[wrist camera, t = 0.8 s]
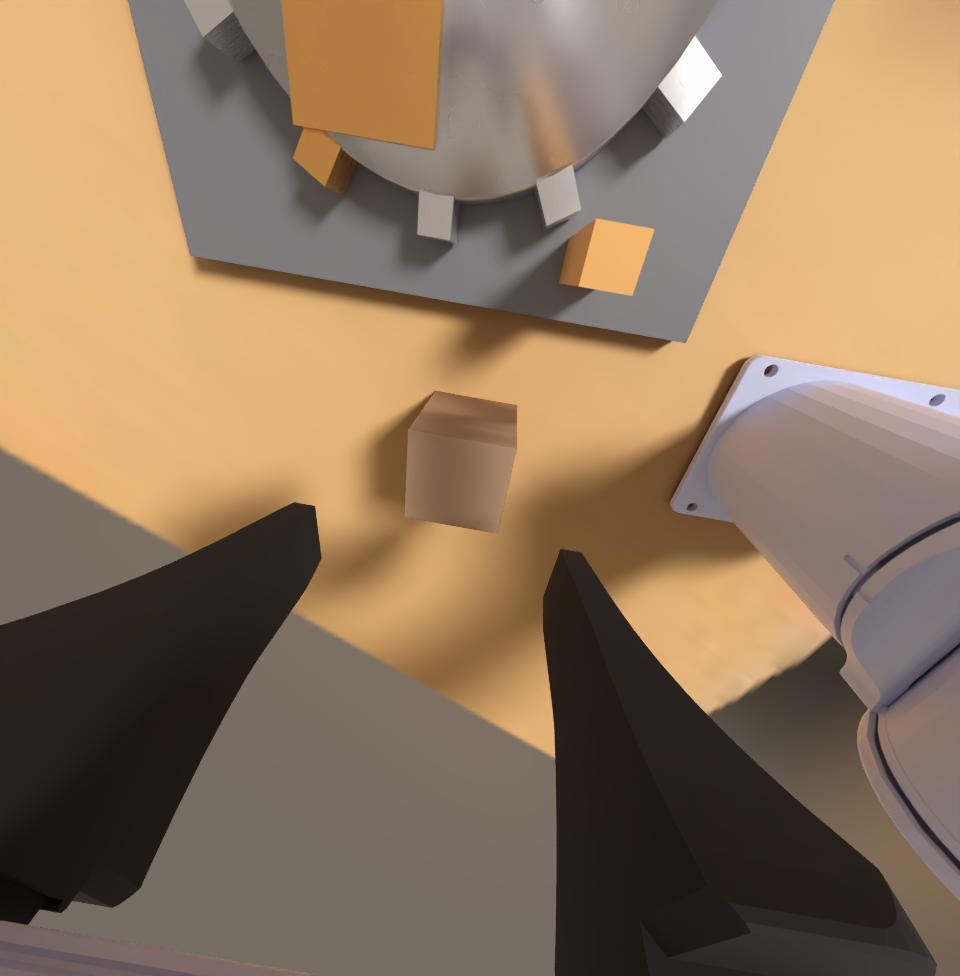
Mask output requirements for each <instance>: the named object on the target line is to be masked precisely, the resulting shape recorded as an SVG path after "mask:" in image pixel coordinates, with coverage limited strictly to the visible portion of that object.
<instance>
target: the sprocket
mask: <svg viewBox="0 0 960 976" xmlns="http://www.w3.org/2000/svg"><path fill="white" fill-rule="evenodd" d="M716 1H717V0H184V2H185V3H186V5H187V7H188V9H189V11H190V13H191V15H192V17H193V19H194V21H195V23H196V25H197V27H198V29H199V30H200V32H201V34H202V36H203V38H205V39H206V40H207V41H209V42H210V43H211V44H213V45H214V46H215V47H217V48H218V49H219V50H220V51H222V52H223V53H224V54H226V55H227V56H228V57H230V58H231V59H232V60H234V61H235V62H236V63H239V62H240V61H242V60H243V59H244V58H245V57H247V56H248V55H249V54H250V53H252V52H253V51H254V50H255V49H256V51H257V52H258V54H259V55H260V57H261V58H262V60H263V62H264V63H265V65H266V66H267V68H268V69H269V71H270V72H271V74H272V75H273V76H274V77H275V79H276V80H277V81H278V83H279V84H280V85H281V86H282V88H283V89H284V90H285V92H286V93H287V94H288V95H289V97H290V98H291V108H292V118H293V125H294V126H297V127H303V131H302V134H301V137H300V140H299V142H298V145H297V148H296V151H295V154H294V157H293V159H294V160H295V161H296V162H297V163H299V164H300V165H301V166H302V167H303V168H304V169H305V170H306V171H308V172H309V173H310V174H311V175H312V176H313V177H314V178H315V179H317V180H318V181H319V182H320V183H321V184H322V185H323V186H324V187H326V188H328V189H331V190H333V191H335V192H337V193H339V194H341V195H344V193H345V191H346V189H347V186H348V184H349V182H350V179H351V177H352V175H353V172H354V170H355V168H356V165H357V163H358V162H359V163H360V164H362V165H363V166H365V167H366V168H367V169H369V170H370V171H372V172H374V173H375V174H377V175H378V176H380V177H382V178H383V179H385V180H386V181H388V182H390V183H391V184H393V185H395V186H397V187H399V188H402V189H404V190H406V191H408V192H411V193H413V194H415V195H418V196H419V206H418V229H417V235H420V236H422V237H424V238H427V239H433V240H438V241H444V242H450V243H455V244H456V243H457V232H458V221H459V211H460V204H464V205H479V204H492V203H499V202H503V201H508V200H512V199H516V198H520V197H524V196H526V195H529V194H531V193H533V192H534V193H535V197H536V202H537V206H538V210H539V214H540V218H541V222H542V226H543V230H547V229H549V228H551V227H553V226H555V225H557V224H559V223H561V222H563V221H566V220H568V219H570V218H572V217H574V216H575V215H576V214H577V213H578V212H579V211H580V210H581V205H580V200H579V195H578V190H577V185H576V180H575V175H574V171H575V170H577V169H578V168H580V167H581V166H582V165H583V164H585V163H586V162H587V161H588V160H590V159H591V158H592V157H593V156H595V155H596V154H597V153H599V152H600V151H601V150H602V149H604V148H605V147H606V146H607V145H608V144H609V143H610V142H611V141H612V140H613V139H614V138H615V137H616V136H617V135H618V134H619V133H620V132H621V131H622V130H623V129H624V128H625V127H626V126H627V125H628V124H629V123H630V122H631V121H632V120H633V118H634V117H635V116H636V115H637V113H638V112H639V111H640V110H641V109H643V110H644V111H645V113H646V114H647V115H648V116H649V118H650V119H651V120H652V122H653V123H654V124H655V126H656V127H657V128H658V130H659V131H660V132H661V133H662V135H663V136H664V137H665V139H667V138H668V137H669V136H670V135H671V134H672V133H673V132H675V131H676V130H677V129H678V128H679V127H680V126H681V125H682V124H683V123H684V122H685V121H686V120H687V119H688V117H689V116H690V115H691V114H692V112H693V111H694V110H695V108H696V107H697V106H698V105H699V103H700V102H701V101H702V100H703V98H704V97H705V96H706V95H707V93H708V92H709V91H710V90H711V88H712V87H713V86H714V85H715V83H716V82H717V81H718V80H719V78H720V77H721V76H722V75H721V73H720V72H719V70H718V69H717V67H716V66H715V64H714V63H713V62H712V60H711V59H710V57H709V56H708V54H707V53H706V51H705V50H704V48H703V47H702V45H701V44H700V42H699V41H698V39H697V38H696V36H695V35H696V34H697V32H698V31H699V29H700V28H701V26H702V25H703V23H704V22H705V20H706V19H707V17H708V15H709V14H710V12H711V10H712V8H713V6H714V5H715V3H716Z"/></svg>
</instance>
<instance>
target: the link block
mask: <svg viewBox="0 0 960 976" xmlns="http://www.w3.org/2000/svg"><path fill="white" fill-rule="evenodd" d="M516 450H517V405H512V404H506V403H501V402H495V401H489V400H484V399H478V398H472V397H467V396H461V395H455V394H450V393H444V392H438V391H435V392H434V394H433V395H432V396H431V398H430V399H429V401H428V402H427V404H426V405H425V406H424V408H423V409H422V411H421V412H420V413H419V415H418V416H417V418H416V419H415V421H414V422H413V423H412V425H411V426H410V428H409V429H408V443H407V467H406V491H405V515H404V517H406V518H412V519H418V520H423V521H429V522H435V523H440V524H446V525H452V526H457V527H463V528H469V529H474V530H480V531H486V532H492V533H497V534H498V529H499V525H500V520H501V516H502V512H503V507H504V503H505V498H506V494H507V490H508V485H509V481H510V476H511V472H512V468H513V463H514V459H515V454H516Z"/></svg>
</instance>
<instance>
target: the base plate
mask: <svg viewBox="0 0 960 976" xmlns="http://www.w3.org/2000/svg"><path fill="white" fill-rule="evenodd" d="M834 1H835V0H717V1H716V3H715V5H714V6H713V8H712V10H711V12H710V14H709V15H708V17H707V19H706V20H705V22H704V23H703V25H702V26H701V28H700V29H699V31H698V32H697V34H696V35H695V36H696V38H697V39H698V41H699V42H700V44H701V45H702V47H703V48H704V50H705V51H706V53H707V54H708V56H709V57H710V59H711V60H712V62H713V63H714V64H715V66H716V67H717V69H718V70H719V72H720V73H721V75H722V76H721V77H720V78H719V80H718V81H717V82H716V83H715V85H714V86H713V87H712V88H711V90H710V91H709V92H708V93H707V95H706V96H705V97H704V98H703V100H702V101H701V102H700V103H699V105H698V106H697V107H696V108H695V110H694V111H693V112H692V114H691V115H690V116H689V117H688V119H687V120H686V121H685V122H684V123H683V124H682V125H681V126H680V127H679V128H678V129H677V130H676V131H675V132H673V133H672V134H671V135H670V136H669V137H668V138H667V139H665V137H664V136H663V135H662V133H661V132H660V131H659V130H658V128H657V127H656V126H655V124H654V123H653V122H652V120H651V119H650V118H649V116H648V115H647V114H646V113H645V111H644V110H643V109H641V110H640V111H639V112H638V113H637V115H636V116H635V117H634V118H633V120H632V121H631V122H630V123H629V124H628V125H627V126H626V127H625V128H624V129H623V130H622V131H621V132H620V133H619V134H618V135H617V136H616V137H615V138H614V139H613V140H612V141H611V142H610V143H609V144H608V145H607V146H606V147H605V148H604V149H602V150H601V151H600V152H599V153H597V154H596V155H595V156H593V157H592V158H591V159H590V160H588V161H587V162H586V163H585V164H583V165H582V166H581V167H580V168H578V169H577V170H575V171H574V175H575V180H576V185H577V190H578V195H579V200H580V205H581V210H580V211H579V212H578V213H577V214H576V215H575V216H574V217H572V218H570V219H568V220H566V221H563V222H561V223H559V224H557V225H555V226H553V227H551V228H549V229H547V230H543V226H542V222H541V218H540V214H539V210H538V206H537V202H536V197H535V193H534V192H533V193H531V194H529V195H526V196H524V197H520V198H516V199H512V200H508V201H503V202H499V203H492V204H479V205H464V204H460V211H459V221H458V232H457V243H456V244H455V243H450V242H444V241H438V240H433V239H427V238H424V237H422V236H420V235H417V229H418V206H419V196H418V195H415V194H413V193H411V192H408V191H406V190H404V189H402V188H399V187H397V186H395V185H393V184H391V183H390V182H388V181H386V180H385V179H383V178H382V177H380V176H378V175H377V174H375V173H374V172H372V171H370V170H369V169H367V168H366V167H365V166H363V165H362V164H360V163H359V162H358V163H357V165H356V168H355V170H354V172H353V175H352V177H351V179H350V182H349V184H348V186H347V189H346V191H345V193H344V195H341V194H339V193H337V192H335V191H333V190H331V189H328V188H326V187H324V186H323V185H322V184H321V183H320V182H319V181H318V180H317V179H315V178H314V177H313V176H312V175H311V174H310V173H309V172H308V171H306V170H305V169H304V168H303V167H302V166H301V165H300V164H299V163H297V162H296V161H295V160H294V159H293V157H294V154H295V151H296V148H297V145H298V142H299V140H300V137H301V134H302V131H303V127H297V126H294V125H293V118H292V108H291V98H290V97H289V95H288V94H287V93H286V92H285V90H284V89H283V88H282V86H281V85H280V84H279V83H278V81H277V80H276V79H275V77H274V76H273V75H272V74H271V72H270V71H269V69H268V68H267V66H266V65H265V63H264V62H263V60H262V58H261V57H260V55H259V54H258V52H257V51H256V49H255V50H254V51H253V52H252V53H250V54H249V55H248V56H247V57H245V58H244V59H243V60H242V61H240V62H239V63H236V62H235V61H234V60H232V59H231V58H230V57H228V56H227V55H226V54H224V53H223V52H222V51H220V50H219V49H218V48H217V47H215V46H214V45H213V44H211V43H210V42H209V41H207V40H206V39H205V38H203V36H202V34H201V32H200V30H199V29H198V27H197V25H196V23H195V21H194V19H193V17H192V15H191V13H190V11H189V9H188V7H187V5H186V3H185V2H184V0H128V2H129V6H130V10H131V14H132V18H133V22H134V26H135V30H136V35H137V39H138V43H139V47H140V51H141V55H142V59H143V63H144V67H145V72H146V76H147V80H148V84H149V88H150V92H151V96H152V100H153V104H154V108H155V113H156V117H157V121H158V125H159V129H160V133H161V137H162V141H163V145H164V150H165V154H166V158H167V162H168V166H169V170H170V174H171V178H172V182H173V186H174V191H175V195H176V199H177V203H178V207H179V211H180V215H181V219H182V223H183V227H184V232H185V236H186V240H187V244H188V248H189V252H190V256H195V257H201V258H207V259H212V260H218V261H224V262H229V263H235V264H241V265H246V266H252V267H258V268H263V269H269V270H275V271H280V272H286V273H292V274H297V275H303V276H309V277H314V278H320V279H326V280H331V281H337V282H343V283H348V284H354V285H360V286H365V287H371V288H377V289H382V290H388V291H394V292H399V293H405V294H411V295H416V296H422V297H428V298H433V299H439V300H445V301H450V302H456V303H462V304H467V305H473V306H479V307H484V308H490V309H496V310H501V311H507V312H512V313H518V314H524V315H529V316H535V317H541V318H546V319H552V320H558V321H563V322H569V323H575V324H580V325H586V326H592V327H597V328H603V329H609V330H614V331H620V332H626V333H631V334H637V335H643V336H648V337H654V338H660V339H665V340H671V341H677V342H682V343H686V342H687V339H688V337H689V335H690V332H691V330H692V328H693V326H694V323H695V321H696V319H697V316H698V314H699V312H700V309H701V307H702V305H703V302H704V300H705V298H706V296H707V293H708V291H709V289H710V286H711V284H712V282H713V279H714V277H715V275H716V273H717V270H718V268H719V266H720V263H721V261H722V259H723V256H724V254H725V252H726V250H727V247H728V245H729V243H730V240H731V238H732V236H733V233H734V231H735V229H736V227H737V224H738V222H739V220H740V217H741V215H742V213H743V210H744V208H745V206H746V204H747V201H748V199H749V197H750V194H751V192H752V190H753V187H754V185H755V183H756V180H757V178H758V176H759V174H760V171H761V169H762V167H763V164H764V162H765V160H766V157H767V155H768V153H769V151H770V148H771V146H772V144H773V141H774V139H775V137H776V134H777V132H778V130H779V128H780V125H781V123H782V121H783V118H784V116H785V114H786V111H787V109H788V107H789V105H790V102H791V100H792V98H793V95H794V93H795V91H796V88H797V86H798V84H799V82H800V79H801V77H802V75H803V72H804V70H805V68H806V65H807V63H808V61H809V59H810V56H811V54H812V52H813V49H814V47H815V45H816V42H817V40H818V38H819V35H820V33H821V31H822V29H823V26H824V24H825V22H826V19H827V17H828V15H829V12H830V10H831V8H832V6H833V3H834Z"/></svg>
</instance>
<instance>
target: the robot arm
mask: <svg viewBox="0 0 960 976" xmlns="http://www.w3.org/2000/svg"><path fill="white" fill-rule="evenodd" d="M770 365H772V366H773V367H772V370H771V371H770V372H769V373H768V374H766V375H764V371H765V369H766V368H767V367H768V366H770ZM934 396H935V397H934ZM933 397H934V399H933V400H932V401H930V400H931V399H932V398H933ZM691 503H694V505H693V506H691V507H687V506H688V505H689V504H691ZM670 506H671V508H672V509H673V510H674V511H675V512H677V513H682V514H688V515H693V516H699V517H705V518H710V519H716V520H722V521H727V522H733V523H734V524H735V525H736V526H737V527H738V528H739V530H740V531H741V532H742V533H743V534H744V535H745V536H746V538H747V539H748V540H749V541H750V542H751V543H752V544H753V546H754V547H755V548H756V549H757V550H758V551H759V552H760V553H761V555H762V556H763V557H764V558H765V559H766V560H767V561H768V563H769V564H770V565H771V566H772V567H773V568H774V569H775V571H776V572H777V573H778V574H779V575H780V576H781V577H782V579H783V580H784V581H785V582H786V583H787V584H788V585H789V587H790V588H791V589H792V590H793V591H794V592H795V593H796V595H797V596H798V597H799V598H800V599H801V600H802V601H803V603H804V604H805V605H806V606H807V607H808V608H809V609H810V611H811V612H812V613H813V614H814V615H815V616H816V617H817V618H818V620H819V621H820V622H821V623H822V624H823V625H824V626H825V628H826V629H827V630H828V631H829V632H830V633H831V634H832V636H833V637H834V638H835V639H836V640H837V641H838V642H839V644H840V645H841V646H842V647H843V648H844V649H845V650H846V652H847V661H846V664H845V665H844V667H843V668H842V669H841V671H840V674H841V675H842V677H843V678H844V679H845V680H846V682H847V683H848V684H849V685H850V686H851V687H852V689H853V690H854V691H855V693H856V694H857V695H858V696H859V697H860V699H861V700H862V701H863V703H864V704H865V705H866V706H867V707H868V710H867V712H866V713H865V714H864V715H863V716H862V718H861V721H860V724H859V727H858V731H857V746H858V750H859V754H860V758H861V762H862V765H863V768H864V770H865V772H866V775H867V777H868V780H869V782H870V784H871V786H872V788H873V790H874V791H875V793H876V795H877V797H878V799H879V800H880V802H881V804H882V806H883V808H884V809H885V811H886V812H887V814H888V815H889V816H890V818H891V819H892V821H893V822H894V824H895V825H896V827H897V828H898V830H899V831H900V832H901V834H902V835H903V837H904V838H905V839H906V840H907V842H908V843H909V844H910V845H911V847H912V848H913V849H914V850H915V851H916V853H917V854H918V855H919V856H920V858H921V859H922V860H923V861H924V863H925V864H926V865H927V866H928V867H929V869H930V870H931V871H932V872H933V873H934V874H935V875H936V876H937V877H938V878H939V879H940V880H941V881H942V883H943V884H944V885H945V886H946V887H947V888H948V889H949V890H950V891H951V892H952V893H953V895H955V897H956V898H957V899H958V900H959V901H960V390H958V389H952V388H946V387H941V386H935V385H929V384H924V383H918V382H912V381H907V380H901V379H895V378H890V377H884V376H878V375H873V374H867V373H861V372H856V371H850V370H844V369H839V368H833V367H828V366H822V365H816V364H811V363H805V362H799V361H794V360H788V359H782V358H777V357H771V356H765V355H755V356H752V357H750V358H749V359H748V360H746V361H745V363H744V364H743V366H742V368H741V369H740V371H739V373H738V375H737V377H736V379H735V381H734V383H733V384H732V386H731V388H730V390H729V392H728V394H727V396H726V398H725V399H724V401H723V403H722V405H721V407H720V409H719V411H718V413H717V415H716V416H715V418H714V420H713V422H712V424H711V426H710V428H709V430H708V431H707V433H706V435H705V437H704V439H703V441H702V443H701V445H700V446H699V448H698V450H697V452H696V454H695V456H694V458H693V460H692V461H691V463H690V465H689V467H688V469H687V471H686V473H685V475H684V476H683V478H682V480H681V482H680V484H679V486H678V488H677V490H676V491H675V493H674V495H673V497H672V499H671V501H670ZM320 560H321V550H320V542H319V534H318V526H317V518H316V510H315V506H312V505H306V504H300V503H295V502H294V503H292V504H290V505H288V506H286V507H283V508H281V509H279V510H277V511H275V512H274V513H272V514H270V515H268V516H266V517H264V518H262V519H260V520H258V521H256V522H254V523H252V524H250V525H248V526H246V527H245V528H243V529H241V530H239V531H237V532H235V533H233V534H231V535H229V536H227V537H225V538H223V539H221V540H219V541H217V542H215V543H213V544H211V545H209V546H207V547H204V548H202V549H200V550H198V551H196V552H194V553H192V554H189V555H187V556H185V557H183V558H181V559H179V560H177V561H175V562H173V563H170V564H168V565H166V566H163V567H161V568H159V569H157V570H154V571H152V572H149V573H147V574H145V575H143V576H140V577H137V578H135V579H132V580H130V581H127V582H125V583H122V584H120V585H117V586H115V587H112V588H109V589H107V590H104V591H101V592H99V593H96V594H93V595H90V596H87V597H84V598H82V599H79V600H76V601H73V602H70V603H67V604H64V605H61V606H59V607H56V608H53V609H50V610H47V611H44V612H41V613H38V614H35V615H32V616H29V617H26V618H23V619H20V620H16V621H13V622H10V623H7V624H3V625H0V976H321V975H315V974H309V973H303V972H297V971H291V970H286V969H280V968H274V967H268V966H262V965H257V964H251V963H245V962H239V961H234V960H228V959H221V958H216V957H210V956H204V955H198V954H193V953H187V952H181V951H175V950H169V949H164V948H158V947H152V946H146V945H140V944H135V943H129V942H123V941H117V940H111V939H105V938H100V937H94V936H88V935H82V934H76V933H71V932H65V931H59V930H53V929H48V928H42V927H36V926H30V925H28V924H29V923H30V921H31V920H32V919H33V917H34V916H35V914H36V913H37V912H38V911H39V909H40V910H47V911H52V912H58V913H62V912H63V911H64V910H65V909H66V908H67V907H68V906H69V904H70V903H71V901H77V902H82V903H88V904H94V905H100V906H106V907H115V906H117V905H119V904H120V903H122V902H123V901H125V900H126V899H128V898H129V897H130V896H131V895H133V894H134V893H135V892H136V891H137V890H139V889H140V888H141V885H142V883H143V881H144V879H145V876H146V874H147V872H148V870H149V868H150V865H151V863H152V861H153V859H154V857H155V855H156V852H157V850H158V848H159V846H160V844H161V842H162V839H163V837H164V835H165V833H166V831H167V829H168V827H169V824H170V822H171V820H172V818H173V816H174V814H175V812H176V809H177V808H178V806H179V804H180V802H181V800H182V797H183V796H184V793H185V792H186V789H187V788H188V786H189V783H190V782H191V779H192V777H193V776H194V773H195V771H196V770H197V768H198V766H199V764H200V761H201V759H202V758H203V755H204V754H205V752H206V750H207V748H208V746H209V744H210V743H211V741H212V739H213V737H214V735H215V733H216V731H217V729H218V727H219V725H220V724H221V722H222V720H223V718H224V716H225V714H226V712H227V711H228V709H229V707H230V705H231V703H232V702H233V700H234V698H235V697H236V695H237V693H238V691H239V689H240V688H241V686H242V684H243V682H244V680H245V679H246V677H247V675H248V674H249V672H250V671H251V669H252V668H253V666H254V664H255V663H256V661H257V660H258V658H259V657H260V655H261V654H262V652H263V651H264V649H265V648H266V647H267V645H268V644H269V642H270V641H271V639H272V638H273V636H274V635H275V633H276V632H277V631H278V629H279V628H280V626H281V625H282V623H283V622H284V620H285V619H286V618H287V616H288V615H289V613H290V612H291V610H292V609H293V607H294V606H295V604H296V603H297V602H298V600H299V599H300V597H301V596H302V594H303V593H304V591H305V590H306V588H307V586H308V584H309V582H310V580H311V578H312V576H313V575H314V573H315V571H316V568H317V566H318V564H319V562H320ZM543 632H544V641H545V650H546V658H547V667H548V675H549V683H550V691H551V699H552V708H553V718H554V730H555V762H556V809H557V887H556V945H555V976H934V975H935V972H936V966H937V964H936V962H935V960H934V959H933V957H932V955H931V954H930V952H929V950H928V949H927V947H926V945H925V944H924V942H923V941H922V939H921V937H920V936H919V934H918V932H917V931H916V929H915V927H914V926H913V924H912V922H911V921H910V919H909V918H908V916H907V914H906V913H905V911H904V909H903V908H902V906H901V905H900V903H899V901H898V900H897V898H896V896H895V895H894V893H893V891H892V890H891V888H890V887H889V885H888V883H887V882H886V880H885V879H884V877H883V875H882V874H881V872H880V871H879V869H878V868H877V867H875V866H874V865H873V864H872V863H871V862H870V861H868V860H867V859H866V858H865V857H864V856H862V855H861V854H860V853H859V852H858V851H857V850H855V849H854V848H853V847H852V846H851V845H849V844H848V843H847V842H846V841H845V840H844V839H842V838H841V837H840V836H839V835H838V834H836V833H835V832H834V831H833V830H832V829H831V828H829V827H828V826H827V825H826V824H825V823H823V822H822V821H821V820H820V819H819V818H818V817H816V816H815V815H814V814H813V813H812V812H810V811H809V810H808V809H807V808H806V807H804V806H803V805H802V804H801V803H800V802H799V801H798V800H796V799H795V798H794V797H793V796H792V795H791V794H790V793H789V792H788V791H786V790H785V789H784V788H783V787H782V786H781V785H780V784H779V783H778V782H777V781H775V780H774V779H773V778H772V777H771V776H770V775H769V774H768V773H767V772H766V771H764V770H763V769H762V768H761V767H760V766H759V765H758V764H757V763H756V762H755V761H754V760H753V759H751V758H750V757H749V756H748V755H747V754H746V753H745V752H744V751H743V750H742V749H741V748H740V747H739V746H738V745H737V744H736V743H735V742H734V741H733V740H732V739H731V738H730V737H729V736H728V735H727V734H726V733H725V732H724V731H723V730H722V729H721V728H720V727H719V726H718V725H717V724H716V723H715V722H714V721H713V720H712V719H711V718H710V717H709V716H708V715H707V714H706V713H705V712H704V711H703V710H702V709H701V708H700V707H699V706H698V705H697V704H696V703H695V702H694V700H693V699H692V698H691V697H690V696H689V695H688V694H687V693H686V692H685V691H684V690H683V688H682V687H681V686H680V685H679V684H678V683H677V682H676V681H675V679H674V678H673V677H672V676H671V675H670V674H669V673H668V671H667V670H666V669H665V668H664V667H663V666H662V665H661V663H660V662H659V661H658V660H657V659H656V657H655V656H654V655H653V654H652V652H651V651H650V650H649V649H648V647H647V646H646V645H645V644H644V642H643V641H642V640H641V638H640V637H639V636H638V635H637V633H636V632H635V631H634V629H633V628H632V627H631V625H630V624H629V623H628V621H627V620H626V618H625V617H624V616H623V614H622V613H621V611H620V610H619V609H618V607H617V606H616V604H615V603H614V601H613V600H612V598H611V597H610V595H609V594H608V593H607V591H606V589H605V588H604V586H603V585H602V583H601V582H600V580H599V579H598V577H597V576H596V574H595V573H594V571H593V570H592V568H591V566H590V565H589V563H588V562H587V560H586V559H585V557H584V556H583V554H582V553H580V552H575V551H569V550H563V549H561V550H560V552H559V555H558V558H557V561H556V563H555V566H554V569H553V572H552V574H551V577H550V580H549V583H548V585H547V588H546V591H545V594H544V597H543Z"/></svg>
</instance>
